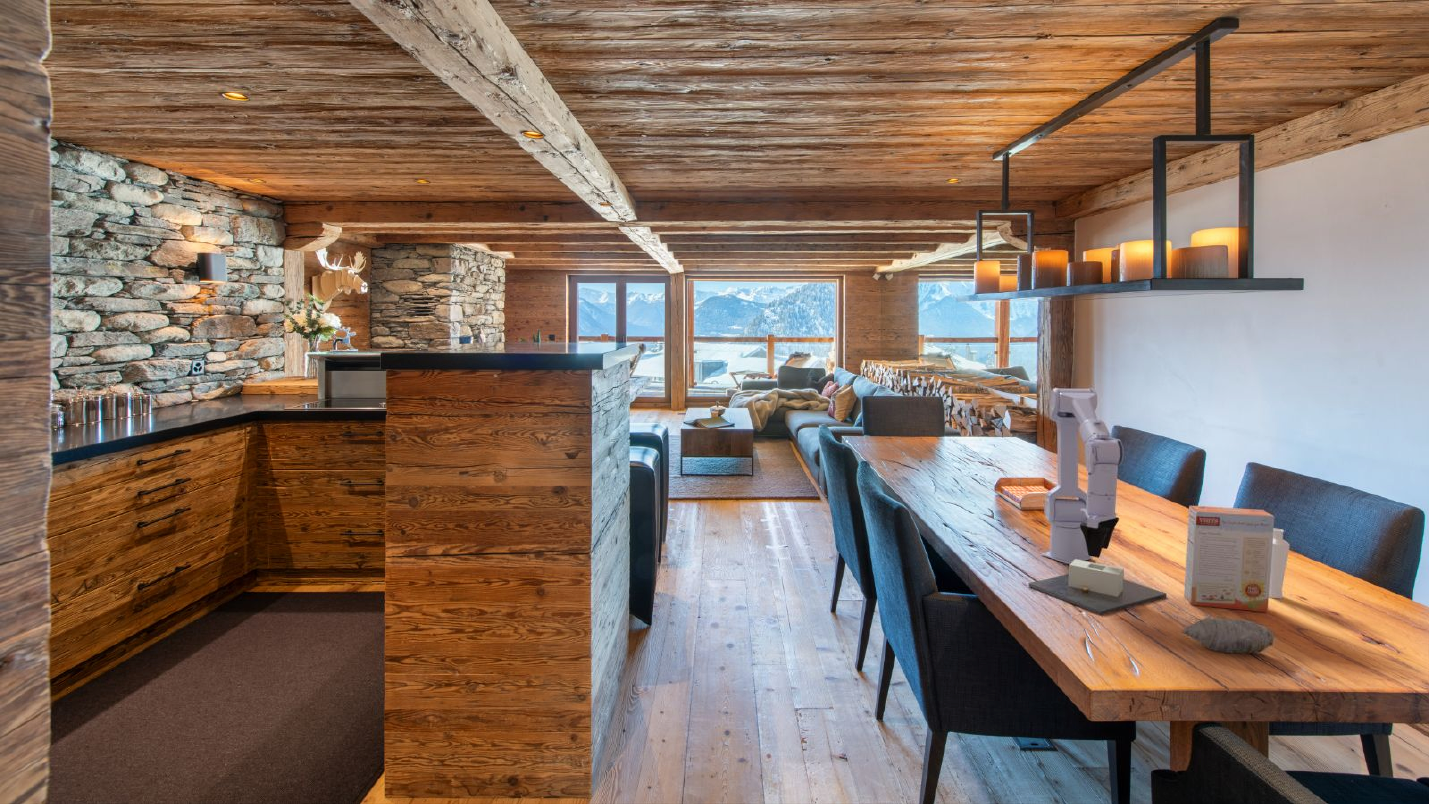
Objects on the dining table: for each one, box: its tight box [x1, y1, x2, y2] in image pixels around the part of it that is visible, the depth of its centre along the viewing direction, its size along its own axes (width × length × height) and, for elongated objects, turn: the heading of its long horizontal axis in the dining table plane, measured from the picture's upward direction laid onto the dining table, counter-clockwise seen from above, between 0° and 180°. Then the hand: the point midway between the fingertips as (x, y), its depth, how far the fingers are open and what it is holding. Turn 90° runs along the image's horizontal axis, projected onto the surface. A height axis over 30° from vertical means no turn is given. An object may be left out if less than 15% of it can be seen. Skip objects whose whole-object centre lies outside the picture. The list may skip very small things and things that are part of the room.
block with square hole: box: [1068, 559, 1125, 597], centre depth 160 cm, size 10×5×5 cm, turn 49°
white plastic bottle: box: [1269, 527, 1291, 599], centre depth 157 cm, size 5×4×15 cm
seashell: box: [1181, 617, 1275, 654], centre depth 131 cm, size 6×14×8 cm, turn 75°
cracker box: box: [1183, 505, 1275, 613], centre depth 152 cm, size 14×6×21 cm, turn 71°
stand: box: [1028, 573, 1167, 616], centre depth 160 cm, size 22×18×5 cm
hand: (1098, 552), depth 159 cm, fingers open, 7 cm apart
